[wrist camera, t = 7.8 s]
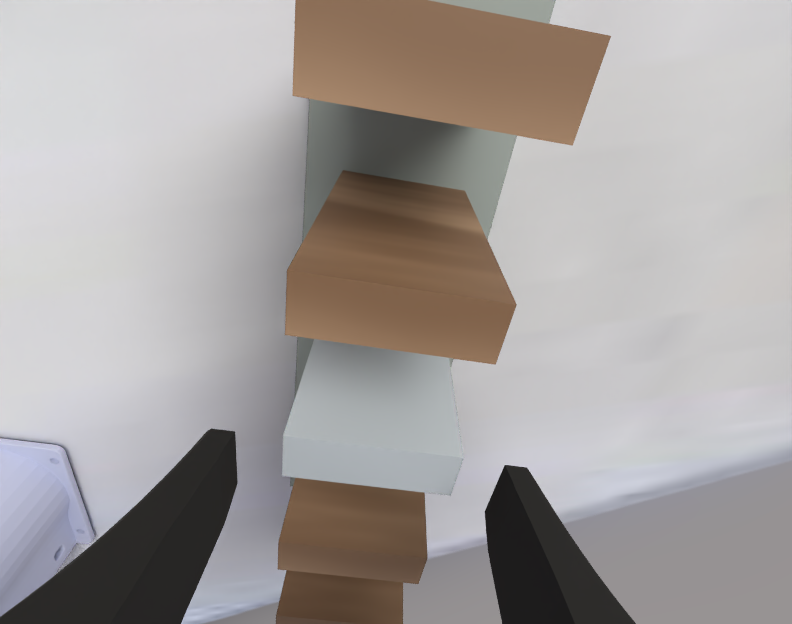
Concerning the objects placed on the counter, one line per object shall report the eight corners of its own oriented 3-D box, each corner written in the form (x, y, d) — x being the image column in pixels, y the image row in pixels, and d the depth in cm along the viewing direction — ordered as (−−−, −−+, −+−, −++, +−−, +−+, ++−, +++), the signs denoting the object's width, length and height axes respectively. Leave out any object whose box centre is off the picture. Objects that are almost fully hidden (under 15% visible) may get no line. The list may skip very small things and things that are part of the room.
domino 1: (486, 100, 15) (572, 145, 7) (351, 76, 15) (292, 95, 7) (499, 48, 14) (610, 35, 7) (356, 20, 14) (296, -26, 6)
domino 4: (398, 463, 25) (396, 647, 17) (316, 453, 24) (275, 635, 17) (403, 444, 24) (402, 627, 16) (318, 433, 24) (276, 615, 16)
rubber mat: (412, 494, 27) (412, 500, 27) (291, 480, 26) (290, 485, 26) (580, -99, 13) (585, -104, 12) (324, -155, 12) (322, -161, 12)
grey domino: (333, 280, 19) (282, 435, 11) (439, 296, 19) (463, 457, 11) (330, 311, 20) (281, 476, 12) (433, 325, 20) (450, 495, 12)
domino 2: (455, 229, 18) (495, 364, 10) (339, 210, 17) (285, 334, 9) (464, 190, 17) (516, 304, 9) (342, 170, 16) (286, 270, 9)
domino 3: (413, 402, 22) (418, 583, 15) (322, 390, 22) (277, 569, 14) (419, 378, 22) (427, 558, 14) (324, 365, 21) (278, 541, 14)
